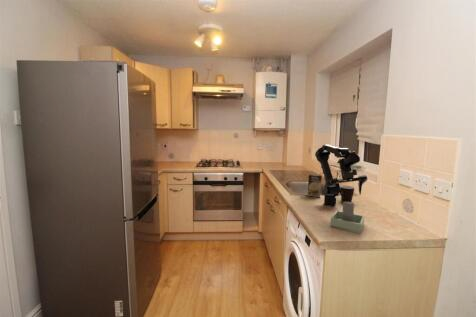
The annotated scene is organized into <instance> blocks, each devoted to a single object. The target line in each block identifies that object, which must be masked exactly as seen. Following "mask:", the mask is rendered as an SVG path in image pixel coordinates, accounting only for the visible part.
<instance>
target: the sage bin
mask: <svg viewBox="0 0 476 317" xmlns="http://www.w3.org/2000/svg"><path fill="white" fill-rule="evenodd" d="M342 219H343V210H335V212H334V214H332V216H331V218H330V228H334V229H340V230H344V231H347V232H352V233H355V234H362V232H363V228H364V224H365V215H363V214H362V215H361V214H356V213H354V216H353V222H350V221H345V220H342Z"/></svg>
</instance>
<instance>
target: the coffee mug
mask: <svg viewBox="0 0 476 317" xmlns="http://www.w3.org/2000/svg"><path fill="white" fill-rule="evenodd" d="M340 188H341V192H342V196H341V195H340V201H341V202H342V203H343V202H352V203H353V197H354V192H355V186H351V185H340Z"/></svg>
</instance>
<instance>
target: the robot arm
mask: <svg viewBox="0 0 476 317" xmlns="http://www.w3.org/2000/svg"><path fill="white" fill-rule="evenodd" d="M331 154H333V155H334V157H336V158H339V159H338V161H337V164H339V169H340V174H341V179H339V178H337V177H336V178H333V174H332V171H331V167H330V164H329V159H330V155H331ZM314 156H315V158H316V160H317V162H318V163H320V166H321V170H322V173H323V177H324V180H325V184H324V188H323V190H321V194H322V196H324V199H323V201H324V202H323V203H322V205H324V206H329V207H335V206H336V205H337V198H336V197H339V194H340V197H341V196H342V192H341V185H340V184H341V183H343V184H344V183H351V182H357V185H358V186H357V187H358V193H359V196H361V194H362V187H363V185H364V184H365V183H366V182H367V181H368V176H367V175H366V174H363V175H358V172H357V169H356V168H354V169H353V168H352V166H354V165H356V164H358V163H359V162H360V161H361V157H360V156H359V155H358V154H357V153H356V151H351V150H350V149H349V147H348V148H347V147H342V148H341V147H337V146H334V145H331V144H323V145H322V146H321V147H320V148H317V150H316V151H315V155H314ZM357 175H358V176H357ZM355 176H357V177H355Z"/></svg>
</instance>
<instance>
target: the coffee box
mask: <svg viewBox="0 0 476 317" xmlns="http://www.w3.org/2000/svg"><path fill="white" fill-rule="evenodd" d="M322 176H323V175H322V174H319V173H308V181H307V182H308V183H307V194H306V196H307V195H308V196H307V197H309V196H315V197H314V198H318V197H320V198H321V193H322V190H321V189H322V188H321V187H322Z"/></svg>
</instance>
